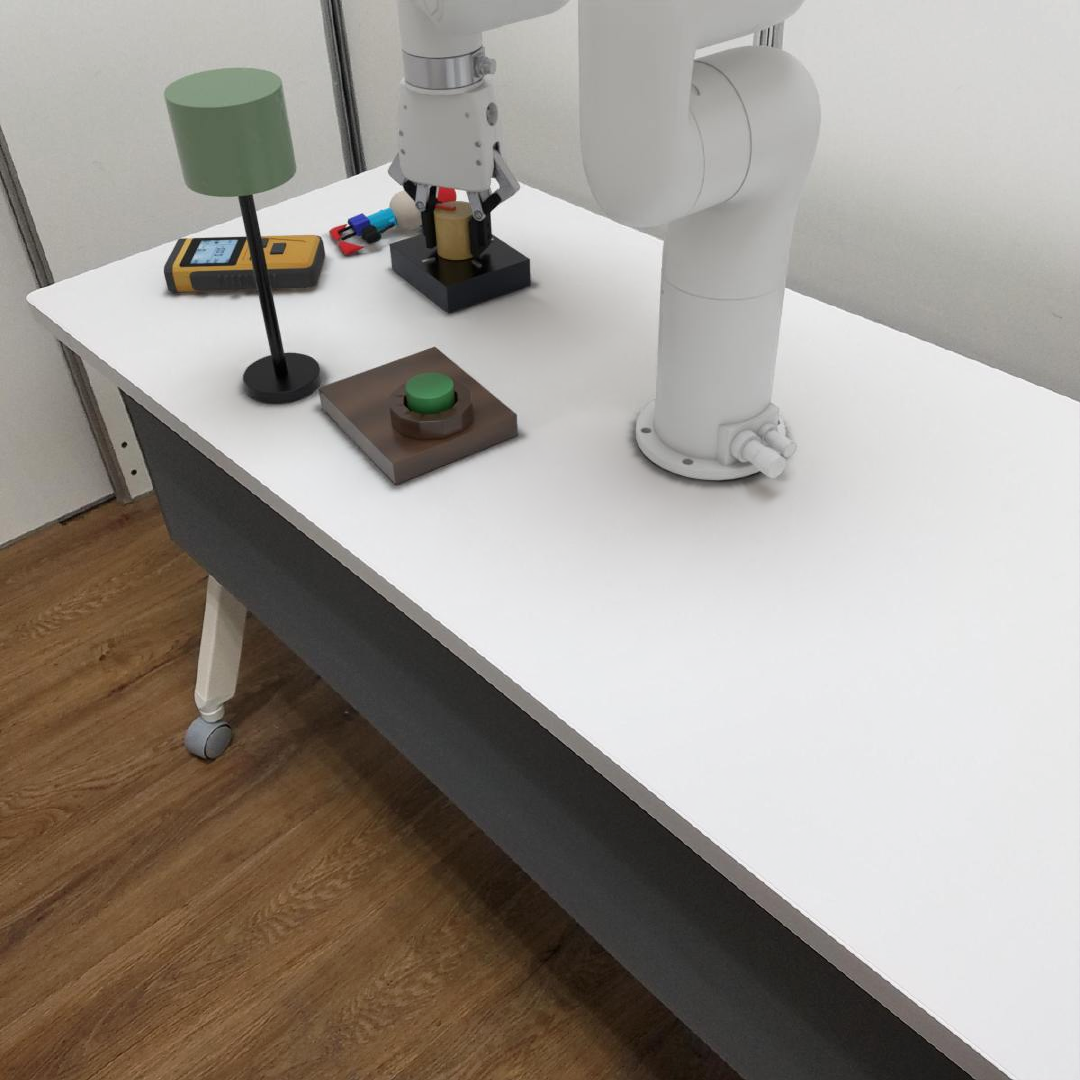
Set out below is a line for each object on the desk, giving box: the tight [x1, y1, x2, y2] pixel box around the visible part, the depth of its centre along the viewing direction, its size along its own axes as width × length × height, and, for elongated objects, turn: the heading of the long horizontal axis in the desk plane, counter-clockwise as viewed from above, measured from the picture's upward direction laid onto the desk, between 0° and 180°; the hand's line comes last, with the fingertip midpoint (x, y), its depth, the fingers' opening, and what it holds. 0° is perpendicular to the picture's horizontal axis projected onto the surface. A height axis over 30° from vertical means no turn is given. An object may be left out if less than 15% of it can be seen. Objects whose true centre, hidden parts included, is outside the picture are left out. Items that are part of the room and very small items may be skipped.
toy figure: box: [328, 187, 458, 256], centre depth 128 cm, size 8×5×15 cm
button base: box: [317, 346, 519, 485], centre depth 99 cm, size 14×12×4 cm
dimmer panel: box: [388, 233, 532, 314], centre depth 119 cm, size 12×10×3 cm
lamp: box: [163, 67, 322, 405], centre depth 97 cm, size 9×9×27 cm
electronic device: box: [163, 234, 326, 293], centre depth 121 cm, size 8×16×3 cm, turn 90°
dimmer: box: [434, 200, 474, 260], centre depth 117 cm, size 4×4×5 cm
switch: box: [405, 373, 455, 414], centre depth 95 cm, size 4×4×2 cm
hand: (458, 245), depth 118 cm, fingers closed on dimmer, 4 cm apart
